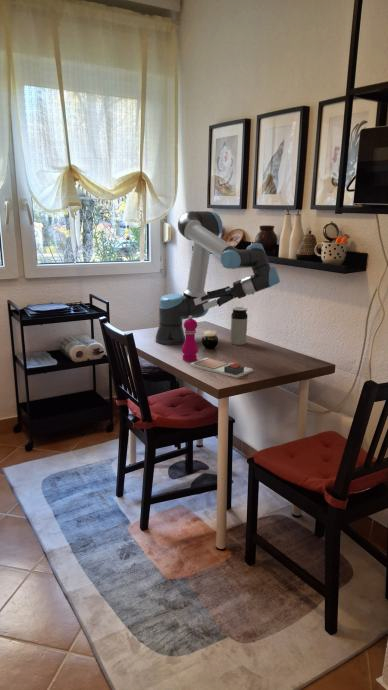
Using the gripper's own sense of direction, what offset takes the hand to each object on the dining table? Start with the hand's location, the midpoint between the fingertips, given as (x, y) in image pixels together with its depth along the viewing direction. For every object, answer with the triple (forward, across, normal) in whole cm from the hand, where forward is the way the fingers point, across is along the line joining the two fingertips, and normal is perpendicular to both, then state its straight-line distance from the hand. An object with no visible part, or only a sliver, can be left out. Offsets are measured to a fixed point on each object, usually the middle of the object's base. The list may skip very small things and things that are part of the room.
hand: (199, 304), depth 223 cm
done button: (-8, -10, -33) cm, 35 cm away
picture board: (-1, -4, -30) cm, 31 cm away
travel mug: (-4, +38, -16) cm, 41 cm away
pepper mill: (+13, +3, -21) cm, 25 cm away
